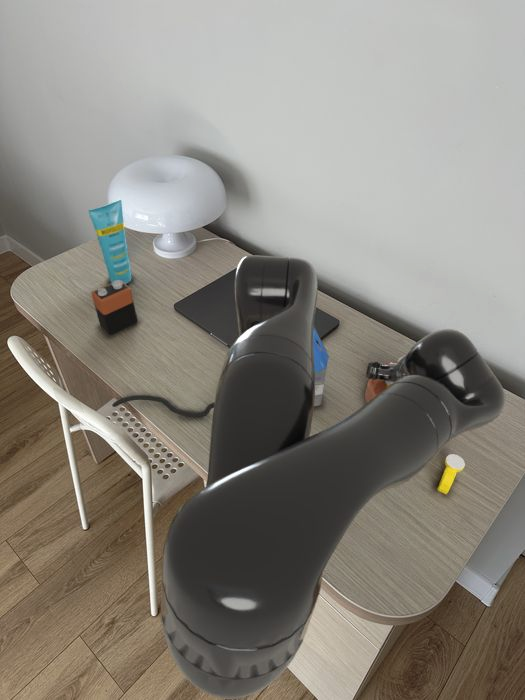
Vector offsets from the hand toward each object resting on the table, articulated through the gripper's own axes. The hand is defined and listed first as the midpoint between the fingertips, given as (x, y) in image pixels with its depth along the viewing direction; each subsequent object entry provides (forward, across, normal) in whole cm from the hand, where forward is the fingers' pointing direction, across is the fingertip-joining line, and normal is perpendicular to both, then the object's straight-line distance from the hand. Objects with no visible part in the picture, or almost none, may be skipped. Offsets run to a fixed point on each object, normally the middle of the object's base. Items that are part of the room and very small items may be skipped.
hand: (407, 377), depth 82 cm
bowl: (+7, 0, -5) cm, 8 cm away
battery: (+13, -58, +1) cm, 60 cm away
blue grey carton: (+6, -17, -6) cm, 19 cm away
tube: (+23, -65, +12) cm, 70 cm away
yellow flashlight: (-4, +8, -16) cm, 18 cm away
